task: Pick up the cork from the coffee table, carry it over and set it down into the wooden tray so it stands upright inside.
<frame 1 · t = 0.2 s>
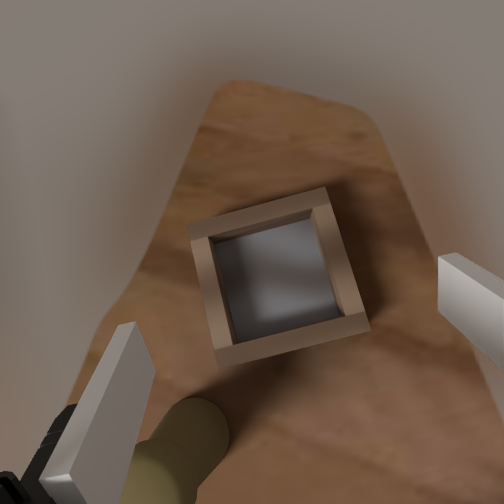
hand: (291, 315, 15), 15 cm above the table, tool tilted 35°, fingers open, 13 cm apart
wooden tray: (275, 279, 30), on the table
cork: (194, 434, 29), on the table
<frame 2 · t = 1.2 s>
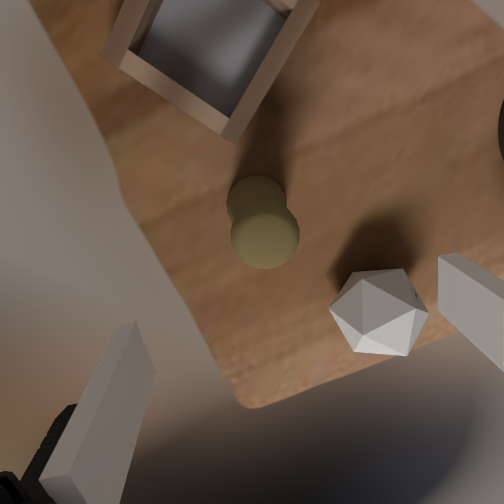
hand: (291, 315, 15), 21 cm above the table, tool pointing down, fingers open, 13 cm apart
die: (363, 291, 39), on the table
wooden tray: (212, 39, 29), on the table
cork: (256, 204, 34), on the table
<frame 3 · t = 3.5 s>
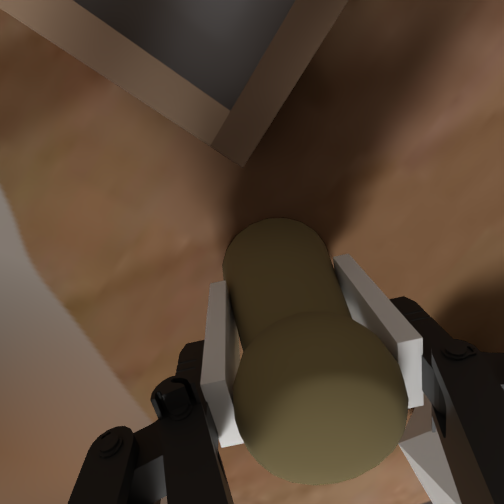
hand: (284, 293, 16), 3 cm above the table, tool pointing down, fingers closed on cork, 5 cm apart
die: (444, 397, 24), on the table
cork: (275, 267, 19), on the table, touching gripper
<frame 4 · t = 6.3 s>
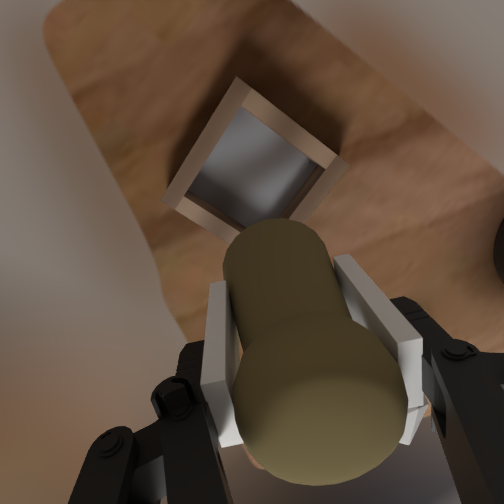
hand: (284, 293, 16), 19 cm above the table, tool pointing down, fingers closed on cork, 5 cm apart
die: (370, 373, 43), on the table
wooden tray: (252, 176, 33), on the table
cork: (275, 268, 19), point 16 cm above the table, touching gripper
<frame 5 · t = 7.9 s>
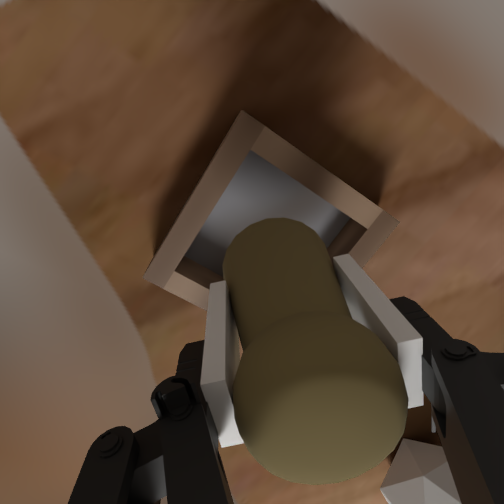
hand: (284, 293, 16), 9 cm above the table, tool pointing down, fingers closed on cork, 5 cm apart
die: (412, 453, 35), on the table
wooden tray: (265, 232, 25), on the table
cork: (275, 267, 19), point 6 cm above the table, touching gripper
when the fingers open (4 cm above the table, at t = 9.2 s): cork stays where it is, resting on wooden tray.
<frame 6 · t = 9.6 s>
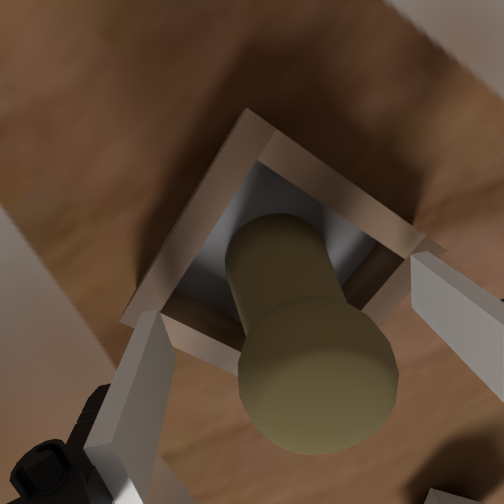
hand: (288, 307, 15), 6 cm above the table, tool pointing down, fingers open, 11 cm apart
die: (439, 503, 31), on the table
wooden tray: (273, 259, 20), on the table
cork: (275, 261, 20), resting on wooden tray
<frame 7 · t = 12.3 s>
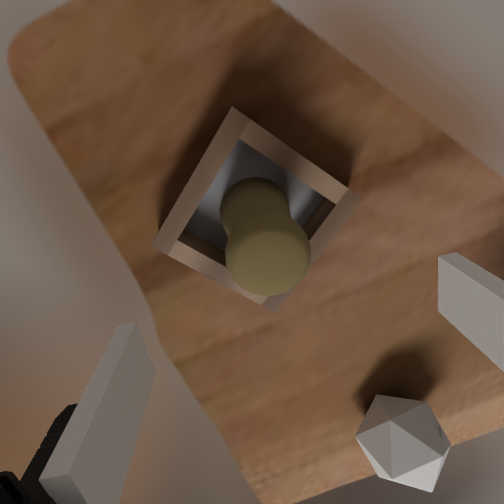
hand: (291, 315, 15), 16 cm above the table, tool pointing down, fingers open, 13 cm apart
die: (385, 408, 40), on the table
wooden tray: (252, 210, 30), on the table
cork: (254, 211, 29), resting on wooden tray
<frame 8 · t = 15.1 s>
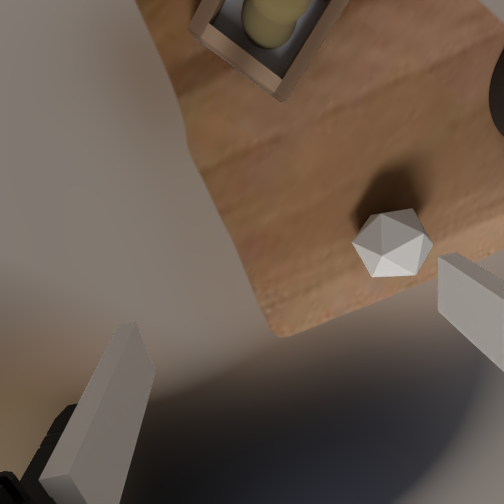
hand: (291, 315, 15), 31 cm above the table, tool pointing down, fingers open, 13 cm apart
die: (378, 232, 47), on the table
wooden tray: (267, 18, 37), on the table
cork: (269, 17, 36), resting on wooden tray
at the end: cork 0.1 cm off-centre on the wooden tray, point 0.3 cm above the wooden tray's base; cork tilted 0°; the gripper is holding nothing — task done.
